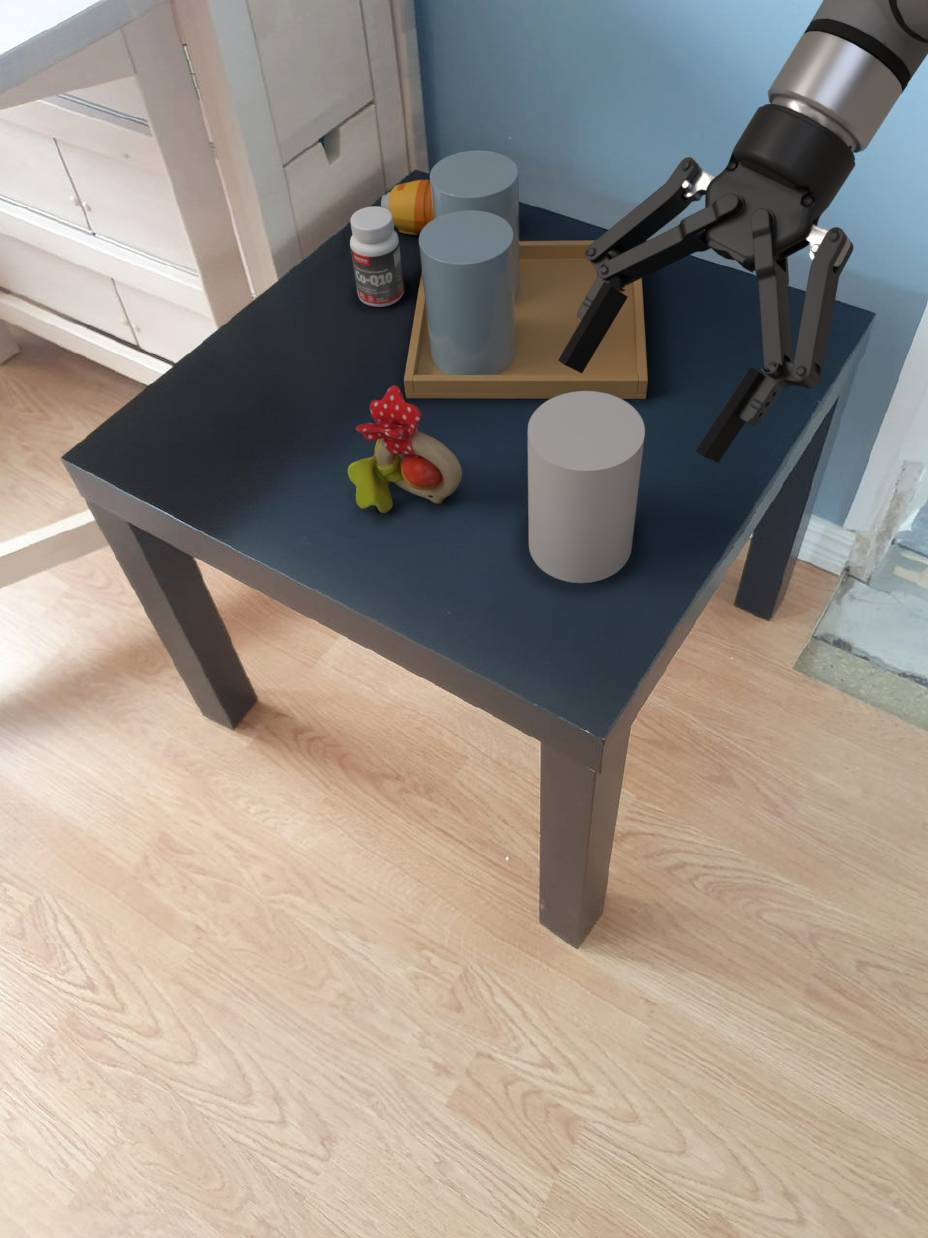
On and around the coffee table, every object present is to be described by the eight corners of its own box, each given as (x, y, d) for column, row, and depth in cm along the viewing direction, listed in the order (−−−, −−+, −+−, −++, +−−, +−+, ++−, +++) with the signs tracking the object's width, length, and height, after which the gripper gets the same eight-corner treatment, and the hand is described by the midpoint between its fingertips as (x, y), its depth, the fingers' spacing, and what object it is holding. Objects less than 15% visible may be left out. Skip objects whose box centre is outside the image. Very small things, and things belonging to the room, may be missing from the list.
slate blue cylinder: (517, 325, 95) (515, 208, 86) (514, 380, 90) (511, 263, 81) (434, 325, 96) (423, 210, 86) (427, 380, 91) (414, 264, 82)
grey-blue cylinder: (521, 264, 101) (520, 148, 92) (518, 312, 96) (516, 196, 87) (443, 265, 102) (433, 150, 92) (436, 313, 97) (425, 197, 87)
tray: (637, 257, 102) (639, 239, 100) (645, 399, 89) (647, 380, 87) (428, 260, 104) (426, 241, 102) (406, 398, 91) (403, 380, 89)
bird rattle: (450, 490, 86) (354, 444, 85) (496, 408, 77) (389, 356, 76) (428, 543, 83) (328, 497, 82) (474, 464, 74) (362, 410, 72)
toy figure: (380, 243, 106) (491, 248, 104) (372, 195, 102) (488, 199, 100) (392, 215, 109) (499, 220, 107) (385, 167, 105) (497, 170, 103)
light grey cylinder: (646, 524, 80) (662, 409, 70) (608, 596, 76) (618, 484, 66) (554, 494, 82) (556, 379, 73) (511, 562, 78) (508, 450, 69)
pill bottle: (354, 307, 99) (340, 231, 93) (363, 279, 102) (350, 203, 95) (400, 309, 99) (390, 232, 92) (408, 280, 102) (399, 204, 95)
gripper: (989, 223, 63) (789, 507, 70) (690, 94, 75) (544, 346, 82) (970, 176, 57) (753, 492, 63) (647, 43, 69) (493, 320, 76)
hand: (635, 410), depth 73 cm, fingers open, 13 cm apart
